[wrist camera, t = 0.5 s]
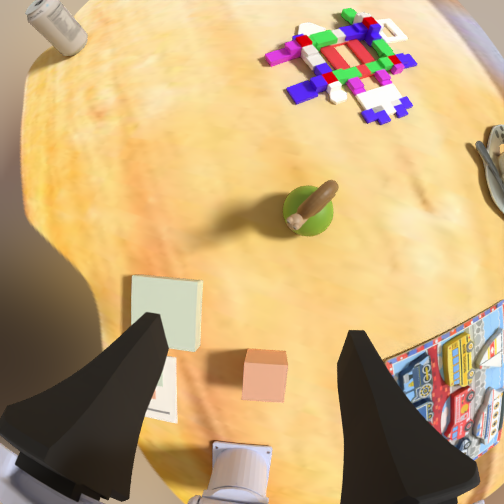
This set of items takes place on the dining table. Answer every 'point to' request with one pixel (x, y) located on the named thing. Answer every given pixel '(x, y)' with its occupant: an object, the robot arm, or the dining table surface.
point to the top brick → (265, 375)
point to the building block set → (363, 28)
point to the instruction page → (165, 394)
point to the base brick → (170, 307)
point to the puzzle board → (459, 381)
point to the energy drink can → (57, 26)
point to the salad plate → (494, 164)
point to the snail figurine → (310, 208)
